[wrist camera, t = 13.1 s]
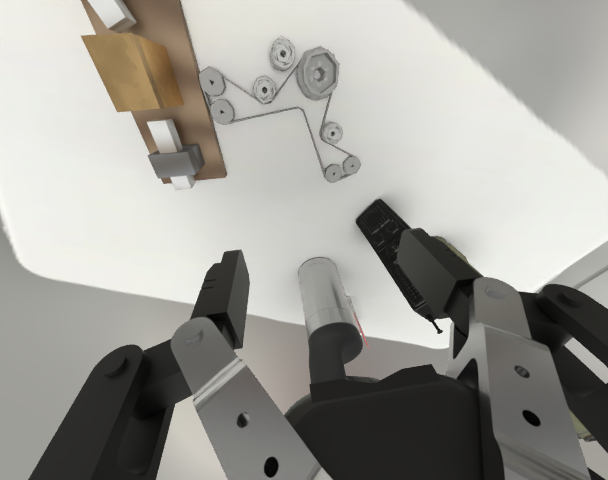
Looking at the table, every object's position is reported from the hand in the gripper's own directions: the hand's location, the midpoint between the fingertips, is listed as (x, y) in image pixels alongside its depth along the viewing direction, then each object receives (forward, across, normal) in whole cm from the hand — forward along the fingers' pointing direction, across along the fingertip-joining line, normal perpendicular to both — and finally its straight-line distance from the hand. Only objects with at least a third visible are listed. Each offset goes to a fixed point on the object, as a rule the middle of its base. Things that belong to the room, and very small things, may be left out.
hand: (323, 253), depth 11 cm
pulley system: (+31, -2, -4) cm, 31 cm away
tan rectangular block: (+29, +16, -9) cm, 34 cm away
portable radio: (+30, -17, +16) cm, 38 cm away
